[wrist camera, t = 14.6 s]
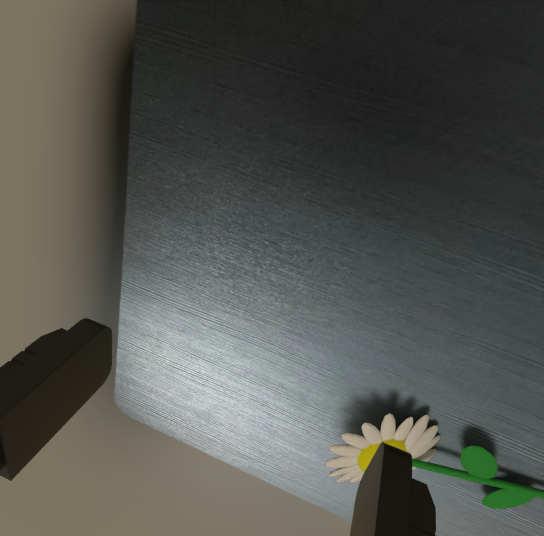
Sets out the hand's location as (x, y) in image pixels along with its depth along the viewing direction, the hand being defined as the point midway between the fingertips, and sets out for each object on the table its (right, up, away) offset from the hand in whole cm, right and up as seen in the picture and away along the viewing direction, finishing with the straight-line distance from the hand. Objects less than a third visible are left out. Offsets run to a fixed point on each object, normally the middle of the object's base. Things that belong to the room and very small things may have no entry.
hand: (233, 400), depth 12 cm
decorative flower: (+23, -17, +35) cm, 45 cm away
